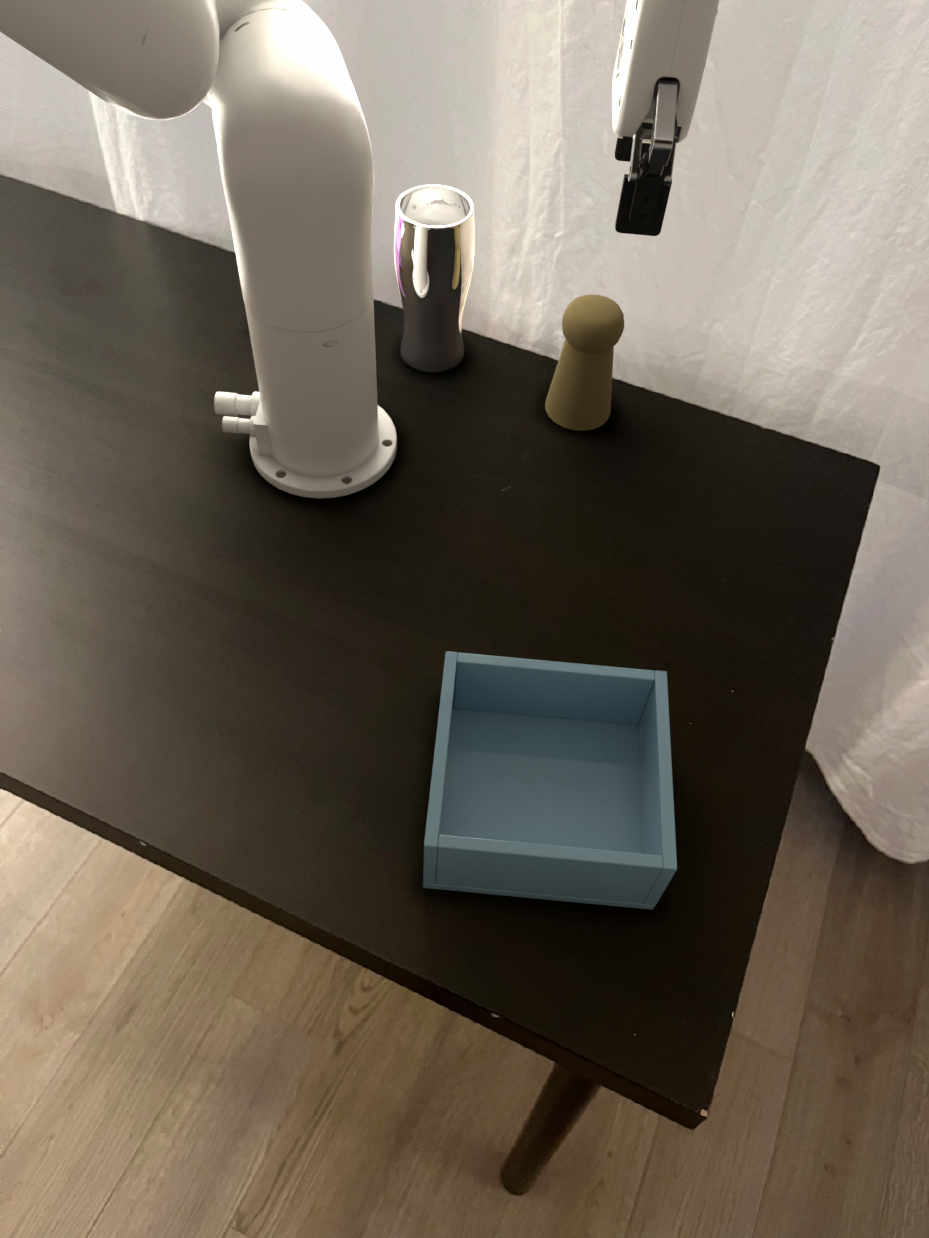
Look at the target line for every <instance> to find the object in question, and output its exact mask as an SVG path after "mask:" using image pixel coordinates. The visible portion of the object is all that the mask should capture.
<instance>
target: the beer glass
mask: <svg viewBox="0 0 929 1238" xmlns="http://www.w3.org/2000/svg"><path fill="white" fill-rule="evenodd" d="M475 229H476V227H475V203H474V201H473V200H472V198H471V197H470V196H469V195H468V194H467V193H466V192H464V191H462V190H460V189H458V188H455V187H453V186H450V185H449V186H448V185H443V184H423V185H417V186H414V187H411V188H409V189H407V190H405V191H404V192H401V194H400V195H399V196H398V198H397V199H396V202H395V216H394V231H393V232H394V233H393V234H394V235H393V259H394V260H393V261H394V270H395V276H396V281H397V286H398V291H399V297H400V300H401V307H402V311H403V319H404V320H403V321H404V322H403V323H404V325H403V332H402V337H401V343H400V348H399V349H400V357H401V358H402V360H403V362H404V363H405V364H406V365H408V366H409V367H410V368H412V369H414V370H416V371H418V372H423V373H428V374H429V373H430V374H437V373H438V374H439V373H445V372H448V371H451V370H452V369H454V368H456V367H457V366H458V365H459V364H461V362H462V361H463V359H464V356H465V343H464V339H463V333H462V332H463V331H462V322H463V314H464V309H465V305H466V301H467V297H468V293H469V289H470V284H471V282H472V275H473V270H474V263H475V251H476V250H475V247H476V245H475V244H476V233H475V232H476V231H475Z"/></svg>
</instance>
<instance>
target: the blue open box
mask: <svg viewBox="0 0 929 1238" xmlns="http://www.w3.org/2000/svg"><path fill="white" fill-rule="evenodd" d="M443 662H444V663H443V672H442V678H441V680H442V681H441V689H440V696H439V697H440V699H439V706H438V716H437V725H436V732H435V733H436V735H435V741H434V742H435V743H434V752H433V759H432V769H431V777H430V787H429V794H428V804H427V813H426V821H425V822H426V823H425V831H424V840H423V861H422V862H423V864H422V865H423V866H422V867H423V868H422V869H423V870H422V888H424V889H431V890H442V891H453V892H461V893H462V892H463V893H473V894H475V893H476V894H485V895H495V896H505V897H515V898H528V899H537V900H545V901H546V900H548V901H559V902H569V903H578V904H588V905H589V904H590V905H601V906H609V907H610V906H611V907H620V908H631V909H632V908H633V909H641V910H652V911H653V910H654V909H655V908H656V906H657V905H658V903H659V901H660V900H661V898H662V897H663V894H664V892H665V891H666V889H667V887H668V886H669V884H670V883H671V880H672V879H673V878H674V875H676V872H677V871H678V857H677V840H676V819H675V800H674V780H673V763H672V761H673V760H672V744H671V743H672V741H671V726H670V725H671V724H670V706H669V705H670V704H669V687H668V686H669V685H668V672H667V671H666V670H653V669H644V668H643V669H642V668H631V667H619V666H610V665H609V666H608V665H599V664H588V663H577V662H567V661H566V662H565V661H557V660H556V661H553V660H545V659H533V658H522V657H521V658H520V657H511V656H503V655H502V656H501V655H492V654H491V655H489V654H479V653H468V652H457V651H449V650H448V651H445V653H444V661H443Z"/></svg>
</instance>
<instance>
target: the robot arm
mask: <svg viewBox="0 0 929 1238" xmlns="http://www.w3.org/2000/svg"><path fill="white" fill-rule="evenodd" d="M719 4H720V0H626V4H625V9H624V14H623V20H622V27H621V30H620V31H621V32H620V38H619V41H618V48H617V53H616V58H615V62H614V67H613V73H612V81H611V83H612V84H611V120H612V121H611V124H612V131H613V133H614V135H615V136H616V143H615V148H614V159H615V160H616V161H619V162H629V168H628V173H624V174H623V179H622V184H621V190H620V195H619V201H618V206H617V210H616V216H615V223H614V228H615V229H614V230H615V231H616V233H618V234H628V235H635V236H636V235H637V236H648V237H658V236H659V235H660V234H661V233H662V229H663V224H664V219H665V214H666V211H667V206H668V202H669V198H670V193H671V188H672V184H673V171H674V164H675V163H674V162H675V155H676V150H677V149H676V147H677V144H679V143H681V142H683V140H685V139H686V138H687V137H688V135H689V131H690V128H691V124H692V120H693V117H694V113H695V109H696V106H697V103H698V102H697V101H698V97H699V93H700V90H701V85H702V82H703V81H702V80H703V77H704V72H705V68H706V64H707V60H708V56H709V50H710V46H711V41H712V36H713V32H714V27H715V22H716V19H717V15H718V11H719V9H718V8H719ZM0 33H1V34H2V35H4V36H5V37H7V38H9V39H10V40H12V41H14V42H15V43H16V44H18V45H19V46H21V47H23V49H26V50H27V51H28V52H30V53H32V55H35V56H36V57H38V58H39V59H41V60H42V61H44V62H45V63H47V64H48V65H50V66H51V67H53V68H54V69H56V70H58V71H59V72H61V73H62V74H64V75H65V76H67V77H68V78H69V79H71V80H72V81H74V82H75V83H77V84H78V85H80V86H81V87H82V88H84V89H86V90H87V91H88V92H90V93H91V94H93V95H94V96H96V97H97V98H99V99H101V100H102V101H104V102H105V103H107V104H109V105H111V106H113V107H114V108H116V109H119V110H121V111H122V112H124V113H126V114H128V115H131V116H135V117H139V118H141V119H144V120H148V121H149V120H150V121H169V120H173V119H176V118H180V117H184V116H185V115H187V114H189V113H190V112H192V111H193V110H194V109H196V108H197V107H198V106H199V105H200V104H202V103H204V104H205V105H207V106H208V107H209V108H211V115H212V116H211V117H212V123H213V130H214V135H215V141H216V150H217V157H218V163H219V164H218V165H219V170H220V176H221V182H222V187H223V193H224V198H225V203H226V209H227V212H228V218H229V224H230V229H231V235H232V241H233V246H234V253H235V258H236V265H237V272H238V276H239V277H238V278H239V283H240V288H241V295H242V300H243V303H244V308H245V309H244V310H245V314H246V321H247V326H248V332H249V333H248V334H249V338H250V344H251V349H252V350H251V351H252V356H253V362H254V368H255V374H256V381H257V385H258V391H253V392H252V393H251V395H250V394H249V395H247V394H239V393H238V392H229V391H216V392H215V395H214V397H213V398H214V399H213V409H214V413H215V414H216V415H221V416H222V421H221V431H222V433H227V434H228V433H229V434H247V435H249V443H248V444H249V450H250V451H249V452H250V456H251V460H252V463H253V466H254V468H255V469H256V470H257V472H258V473H259V475H260V476H261V477H262V478H263V479H264V480H265V481H266V482H267V483H269V484H270V485H272V486H273V487H275V488H276V489H278V490H280V491H283V492H285V493H287V494H290V495H294V496H299V497H301V498H310V499H335V498H338V497H339V498H341V497H344V496H345V497H346V496H348V495H352V494H354V493H358V492H360V491H362V490H365V489H366V488H368V487H370V486H372V485H373V484H375V483H376V482H377V481H379V480H380V479H381V478H382V477H383V476H384V475H385V474H386V473H387V472H388V471H389V470H390V469H391V467H392V464H393V462H394V460H395V459H396V455H397V450H398V436H397V429H396V426H395V424H394V422H393V419H392V418H391V416H390V415H389V414H388V413H387V412H386V411H385V409H384V408H383V407H381V406H380V405H379V404H378V381H377V356H376V355H377V354H376V329H375V326H376V325H375V303H374V287H373V286H374V285H373V261H372V260H373V259H372V257H373V256H372V255H373V253H372V251H373V250H372V237H373V236H372V235H373V234H372V229H373V211H374V201H375V200H374V199H375V165H374V164H375V163H374V154H373V148H372V143H371V138H370V134H369V128H368V125H367V122H366V118H365V115H364V112H363V109H362V106H361V103H360V101H359V98H358V95H357V92H356V88H355V85H354V84H353V82H352V79H351V76H350V74H349V71H348V68H347V66H346V62H345V60H344V57H343V55H342V51H341V50H340V48H339V45H338V43H337V41H336V39H335V37H334V35H333V34H332V32H331V31H330V29H329V28H328V26H327V25H326V24H325V22H324V21H323V19H321V18H320V17H319V16H318V15H317V13H316V12H314V10H313V9H311V7H309V6H308V4H306V3H305V2H304V1H303V0H0ZM238 416H247V417H250V418H243V417H242V418H241V417H238Z"/></svg>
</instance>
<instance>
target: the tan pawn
mask: <svg viewBox="0 0 929 1238" xmlns="http://www.w3.org/2000/svg"><path fill="white" fill-rule="evenodd" d="M561 326H562V327H561V328H562V334H563V336H564V342H563V346H562V348H561V351H560V355H559V357H558V361H557V364H556V367H555V371H554V373H553V377H552V379H551V383H550V386H549V390H548V393H547V396H546V399H545V402H544V409H545V410H544V411H545V412H546V414H547V416H548V418H549V419H551V420H552V421H553V423H555V424H557V425H558V426H560V427H562V428H564V429H568V430H572V431H579V432H580V431H581V432H585V431H586V432H587V431H590V430H595V429H597V428H599V427H603V425H604V424H605V423H606V422H607V421H609V418H610V415H611V413H612V412H611V410H612V392H613V391H612V390H613V389H612V388H613V371H614V370H613V367H614V353H615V352H614V351H615V350H614V349H615V348H614V347H615V346H616V345H617V344H618V343H619V341H620V339H621V337H622V335H623V333H624V329H625V315H624V313H623V310H622V308H621V307H620V305H619V303H617V302H616V301H615V300H614V299H612V298H610V297H608V296H606V295H605V296H604V295H602V294H591V293H590V294H582V295H580V296H578V297H575V298H574V299H573V300H572V301H571V302H570V303H569V304H567V306H566V308H565V310H564V312H563V315H562V319H561Z"/></svg>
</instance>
